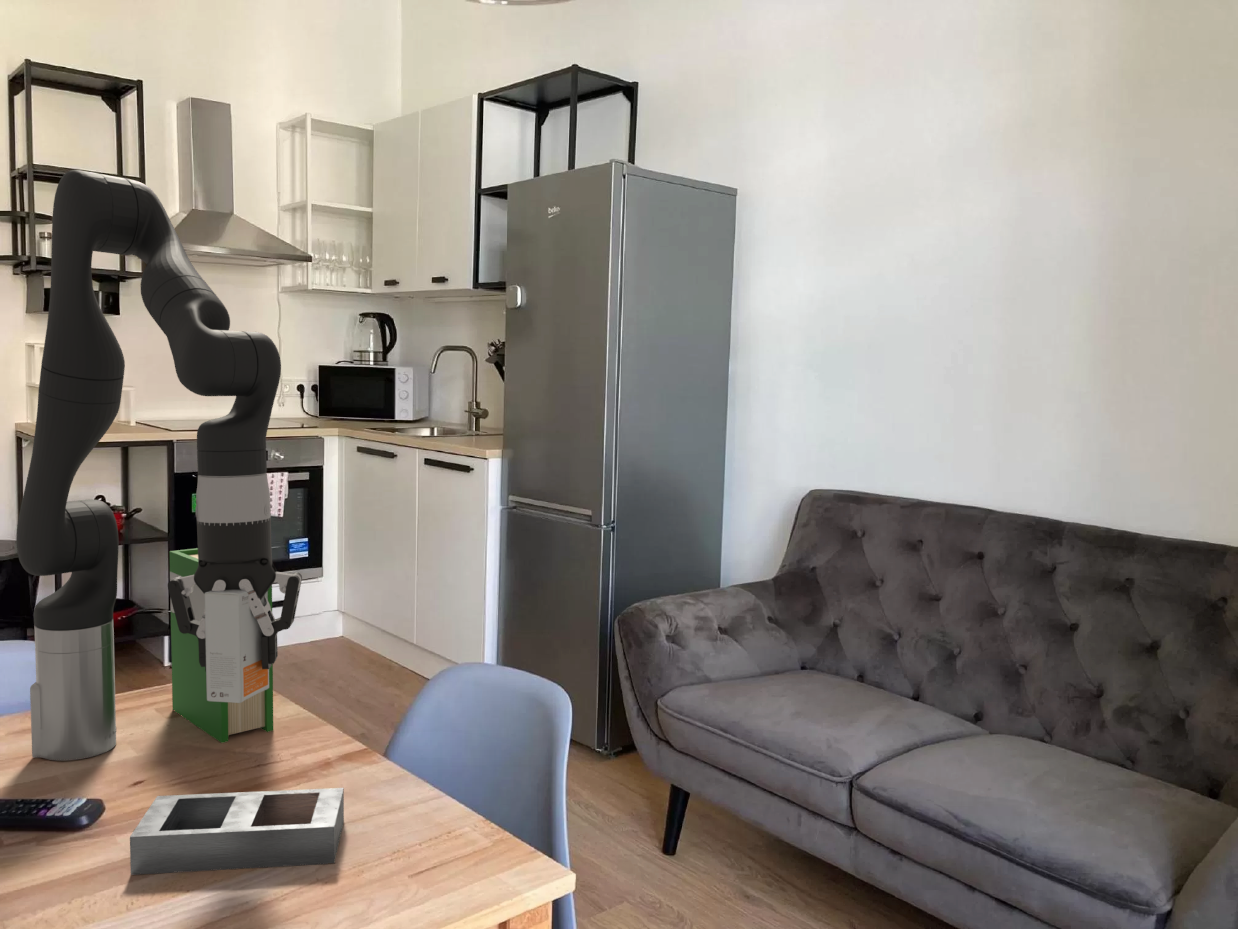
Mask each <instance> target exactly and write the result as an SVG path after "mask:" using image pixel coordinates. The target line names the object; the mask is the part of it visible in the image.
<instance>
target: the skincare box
mask: <svg viewBox="0 0 1238 929" xmlns="http://www.w3.org/2000/svg"><path fill="white" fill-rule="evenodd" d="M265 596H266V598H267V600H268V591H267V592H266V594H265ZM261 603H262V605H263V603H264V597H263V598H262V599H261ZM256 607H257V606H256ZM262 635H263V632H262V630H261V628H260V626H259V623H258V621H257V619H256V618H255V617H254V616H253V613H252V611H251V609H250V607H249V594H248V593H247V592H246V591H241V590H225V591H222V592H211V591H209V592H206V593H205V638H206V685H207V701H214V702H231V703H241V702H243V701H244V700H246V699H248V698H250V697H252V696H254V695H256V694H258V693H260V692H262V691H264V690H267V689H268V688H269V669H262V651H261V637H262Z"/></svg>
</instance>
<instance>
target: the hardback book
mask: <svg viewBox="0 0 1238 929" xmlns="http://www.w3.org/2000/svg"><path fill="white" fill-rule="evenodd" d="M197 568H198V547H196V548H187V549H180V550H179V549H178V550H170V551H169V582H170V581H171V580H172V579H174V578H175V577H177V576H182V577H186V576H190V575H194V574H195V572H196V570H197ZM189 597H190V601H191V605H192V609H193V613H194V617H195V620H197V621H200V622H201V619H202V615H203V612H204V610H205V594H204V593H203V592H202V591H201V590H200V588H199V587H198V586H197V585H196V584H194V586H193V592H192V593H191V594H190V595H189ZM169 599H170V600H169V601H170V635H171V636H170V641H171V642H170V643H171V690H172V691H171V697H172V701H171V702H172V711H173V710H175V711H174V712H175V713H176V712H177V713H176V714H178V713H179V714H180V715H179V714H178V715H179V716H181V715H182V716H183V717H182V716H181V717H182V718H184V719H185V718H186V719H185V720H186V721H188V720H189V721H188V722H190V723H191V724H193V725H194V726H196V727H197V728H198V729H200V730H201V731H203V732H205V733H206V734H208V735H209V736H211V737H212V738H214V739H216V741H218V742H219V743H221V744H223V743H227V742H229V736H230V735H235V734H238V733H243V732H247V731H252V730H255V729H261V730H263V731H265V732H266V733H270V732H273V731H274V668H273V667H274V666H273V665H274V664H272V665H271V667H270V669H269V688H268V689H267V690H264V691H262V692H260V693H258V694H256V695H254V696H252V697H250V698H248V699H246V700H244V701H243V702H241V703H231V702H214V701H207V685H206V671H205V667H201V665H200V663H199V645H198V638H197V637H196V636H195V635H192V634H189V633H186V634H183V633H181V632H180V631H179V628H178V624H177V620H176V616H175V613H174V609H173V605H172V601H171V597H170V598H169ZM268 602H269V604H270V607H271V611H272V612H273V584H272V585H271V587H270V588H269V590H268Z"/></svg>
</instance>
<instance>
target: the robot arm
mask: <svg viewBox="0 0 1238 929" xmlns="http://www.w3.org/2000/svg"><path fill="white" fill-rule="evenodd" d="M51 222H52V223H51V257H50V258H51V259H50V260H51V264H50V266H51V267H50V289H49V304H48V305H49V306H48V312H47V322H46V331H45V337H44V346H43V352H42V358H41V366H40V374H39V384H38V396H37V410H36V419H35V420H36V421H35V429H34V430H35V431H34V435H33V436H34V437H33V442H32V443H33V444H32V452H31V458H30V463H29V468H28V473H27V477H26V482H25V486H24V491H23V495H22V500H21V505H20V508H19V509H20V510H19V514H18V519H17V525H16V536H15V537H16V542H15V543H16V551H17V557H18V560H19V563H20V564H21V566H22V568H23V569H24V570H25V572H26V573H28V574H30V575H33V576H36V577H37V576H38V577H45V576H47V577H48V576H54V575H55V576H56V575H62V574H67V573H71V574H70V577H69V579H68V580H67V581H66V582H65V583H64V584H63V585H62V586H61V587H60V588H59V589H57V590H56V591H54V592H52V593H51V594H49V595H48V596H46V597H44V598H42V599H41V600H40V601H38V602H37V603H36V604H35V607H34V609H33V610H34V611H33V624H34V625H33V626H34V648H35V649H34V650H35V651H34V653H35V654H34V655H35V656H34V657H35V682H34V683H33V684H32V685H30V688H29V693H30V695H29V698H30V727H31V730H30V732H31V758H43V759H45V760H51V761H62V762H63V761H75V760H81V759H82V760H83V759H86V758H92V757H96V756H99V755H102V754H104V753H107V752H109V751H110V750H112V749H113V748H115V746H116V745H117V723H116V722H117V717H116V716H117V715H116V712H117V711H116V679H115V677H116V675H115V673H116V672H115V670H116V669H115V639H114V638H115V635H114V634H115V632H114V609H115V608H114V607H115V604H116V601H117V596H118V571H119V570H118V568H119V566H118V565H119V542H120V541H119V540H120V539H119V530H118V523H117V519H116V516H115V514H114V512H113V510H112V509H111V507H110V506H109V505H108V504H107V503H106V502H104V501H102V500H99V499H82V500H80V499H79V500H72V501H69V500H68V498H69V494H70V490H71V486H72V483H73V481H74V478H75V476H76V474H77V472H78V470H79V468H80V467H81V465H82V464H83V463H84V461H85V459H86V458H87V457H88V455H90V453H91V452H92V451H93V449H95V447H96V446H97V444H98V443H99V442H100V441H101V440H102V438H103V437H104V436H105V435H106V433H107V432H108V430H109V429H110V427H111V426H112V424H113V423H114V421H115V419H116V418H117V415H118V413H119V411H120V408H121V402H122V392H123V388H124V387H123V385H124V379H125V378H124V376H125V371H126V370H125V364H126V362H125V358H124V357H125V356H124V353H123V350H122V348H121V345H120V343H119V342H118V338H117V337H116V334H115V333H114V331H113V329H112V327H111V325H110V324H109V322H108V320H107V319H106V316H105V314H104V313H103V311H102V308H101V307H100V305H99V302H98V299H97V297H96V294H95V293H96V292H95V291H94V286H93V277H92V276H93V274H92V261H93V260H92V259H93V252H98V253H99V252H100V253H106V254H114V255H122V256H130V255H131V256H135V257H137V258H139V259H140V260H141V261H142V262H143V263H145V265H146V266H145V267H144V270H143V272H142V275H141V279H140V295H141V299H142V302H143V304H144V307H145V309H146V310H147V312H148V314H149V315H150V316H151V318H152V319H153V321H155V324H156V325H157V326H158V327H159V328H160V330H161V331H162V332H163V334H164V335H165V336H166V339H167V341H168V345H169V349H170V351H171V355H172V359H173V364H174V368H175V373H176V376H177V379H178V380H179V382H180V383H181V385H182V386H183V387H184V388H186V389H187V390H188V391H190V392H192V393H193V394H195V395H199V396H203V397H235V399H234V402H233V405H232V407H231V409H230V411H229V412H228V413H227V414H225V415H223V416H221V417H216V418H213V419H210V420H207V421H204V422H202V423H201V424H200V425H199V426H198V428H197V432H196V450H197V451H196V456H197V458H196V459H197V460H196V461H197V464H196V465H197V486H196V487H197V488H196V494H195V496H196V497H195V502H196V505H195V517H196V532H197V533H196V534H197V535H196V536H197V538H196V539H197V548H198V568H197V570H196V572H195V574H194V575H190V576H186V577H182V576H177V577H175V578H174V579H172V580H171V581H170V580H169V582H168V583H167V590H168V594H169V596H170V597H171V601H172V605H173V609H174V613H175V616H176V620H177V624H178V628H179V631H180V632H181V633H183V634H186V633H189V634H192V635H195V636H196V637H197V638H198V645H199V663H200V665H201V667H205V671H206V638H205V610H204V612H203V615H202V619H201V622H200V621H197V620H195V617H194V613H193V609H192V605H191V601H190V597H189V595H190V594H191V593H192V592H193V586H194V584H196V585H197V586H198V587H199V588H200V590H201V591H202V592H203V593H204V594H205V593H206V592H209V591H211V592H222V591H225V590H241V591H246V592H247V593H248V594H249V607H250V609H251V611H252V613H253V616H254V617H255V618H256V619H257V621H258V623H259V626H260V628H261V630H262V632H263V635H262V637H261V651H262V669H270V667H271V665H272V664H273V665H274V664H275V662H276V661H277V658H278V654H279V653H278V649H279V648H278V633H279V632H281V631H284V630H288V629H290V628H291V626H292V625H293V623H294V621H295V616H296V611H297V605H298V601H299V597H300V591H301V586H302V580H303V576H302V573H301V572H292V573H286V572H280V571H277V568H276V566H275V565H274V562H273V555H272V553H273V552H272V520H271V519H272V515H271V493H270V492H271V491H270V486H269V481H268V474H267V473H268V468H267V464H268V463H267V433H268V429H269V425H270V421H271V417H272V411H273V407H274V403H275V399H276V395H277V391H278V388H279V384H280V379H281V374H282V373H281V372H282V361H281V356H280V354H279V350H278V347H277V345H276V344H275V343H274V341H273V339H271V338H270V337H269V336H268V335H266V334H265V333H263V332H259V331H249V330H248V331H247V330H244V331H243V330H230V327H231V317H230V314H229V311H228V309H227V308H226V306H225V305H224V303H223V301H222V300H221V299H220V298H219V297H218V296H217V294H216V292H214V291H213V290H212V288H211V287H210V286H209V284H207V282H206V281H205V280H204V279H203V277H202V276H201V275H200V274H199V272H198V271H197V269H196V268H195V267H194V265H193V264H192V261H191V260H190V258H189V257H188V256H189V255H188V254H187V252H186V250H185V247H184V246H183V244H182V241H181V240H180V236H179V235H178V233H177V230H175V227H174V225H173V223H172V221H171V219H170V216H169V215H168V213H167V210H166V209H165V207H164V205H163V204H162V202H161V200H160V198H159V197H158V195H157V194H156V193H155V192H154V191H153V189H152V188H150V187H149V186H148V185H146V184H145V183H142V182H140V181H138V180H134V179H130V178H126V177H125V178H124V177H119V176H114V175H108V174H103V173H98V172H91V171H86V170H80V169H78V170H77V169H72V170H69V171H66V172H65V173H64V174H63V175H62V177H61V178H60V180H59V182H58V184H57V186H56V190H55V194H54V199H53V207H52V220H51ZM274 582H276V583H277V584H278V586H279V588H278V589H279V592H280V593H282V594H284V598H283V603H282V608H281V613H280V614H281V615H280V616H279V617H278V618H275V615H274V614H273V610H272V611H271V607H270V604H269V602H268V600H267V598H266V596H265V594H266V592H267V591H268V590H269V588H270V587H271V585H272V586H273V584H274ZM263 597H264V603H263V605H262V603H261V599H262V598H263ZM171 601H170V602H171ZM256 606H257V607H256Z"/></svg>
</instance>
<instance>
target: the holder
mask: <svg viewBox="0 0 1238 929" xmlns="http://www.w3.org/2000/svg"><path fill="white" fill-rule="evenodd" d="M344 791H345V790H344V787H333V788H330V787H329V788H314V789H313V788H311V789H310V788H307V789H289V790H288V789H287V790H266V791H265V790H262V791H243V792H241V791H240V792H222V793H221V792H218V793H216V792H215V793H197V794H196V793H195V794H194V793H193V794H178V795H177V794H176V795H175V794H173V795H171V794H170V795H169V794H168V795H157V796H156V797H155V799H154V800H153V801H152V803H151V805H150V806H149V808H148V809H147V811H146V812H145V813H144V815H143V817H142V818H141V819H140V821H139V823H138V824H136V827H135V829H134V830H133V831H132V833H131V834H130V836H129V850H130V851H129V856H130V858H129V859H130V860H129V861H130V862H129V864H130V875H131V876H132V875H136V876H137V875H149V874H150V875H151V874H152V875H154V874H170V873H173V874H174V873H187V872H191V873H192V872H207V871H208V872H209V871H221V870H222V871H226V870H241V869H245V870H246V869H256V868H257V869H261V868H277V867H280V868H281V867H294V866H295V867H296V866H299V867H300V866H315V865H329V864H328V863H334V864H335V861H336V856H337V854H338V849H339V844H340V839H341V836H342V831H343V827H344V823H345V815H344V812H345V809H344V808H345V806H344V805H345V802H344V800H345V799H344V797H345V796H344V795H345V793H344ZM336 853H337V854H336Z"/></svg>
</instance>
